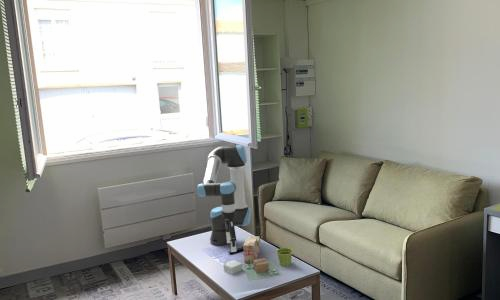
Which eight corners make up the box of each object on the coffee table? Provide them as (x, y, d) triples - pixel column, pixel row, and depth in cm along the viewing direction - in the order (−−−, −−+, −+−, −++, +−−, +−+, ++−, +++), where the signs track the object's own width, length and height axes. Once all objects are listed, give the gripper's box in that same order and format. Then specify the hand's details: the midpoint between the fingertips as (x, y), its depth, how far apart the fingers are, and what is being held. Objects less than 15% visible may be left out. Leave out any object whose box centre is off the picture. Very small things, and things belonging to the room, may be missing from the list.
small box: (243, 271, 237) (242, 263, 236) (232, 276, 232) (231, 267, 231) (234, 267, 243) (233, 259, 242) (223, 272, 238) (222, 263, 237)
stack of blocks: (251, 249, 266) (250, 231, 264) (261, 250, 265) (259, 231, 263) (244, 264, 246) (242, 244, 244) (254, 265, 244) (253, 245, 242)
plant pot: (283, 270, 235) (282, 256, 233) (273, 264, 242) (273, 250, 241) (296, 265, 239) (296, 251, 238) (286, 260, 247) (286, 246, 246)
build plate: (242, 267, 243) (241, 263, 242) (271, 262, 246) (271, 258, 246) (249, 282, 223) (249, 279, 223) (282, 277, 227) (281, 273, 227)
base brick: (253, 268, 237) (253, 259, 236) (265, 266, 239) (265, 257, 238) (256, 273, 231) (256, 265, 230) (269, 271, 232) (268, 263, 231)
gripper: (218, 205, 243) (221, 240, 246) (226, 218, 219) (229, 256, 222) (231, 203, 244) (233, 238, 248) (240, 216, 220) (242, 254, 224)
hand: (231, 247), depth 235 cm, fingers open, 13 cm apart
